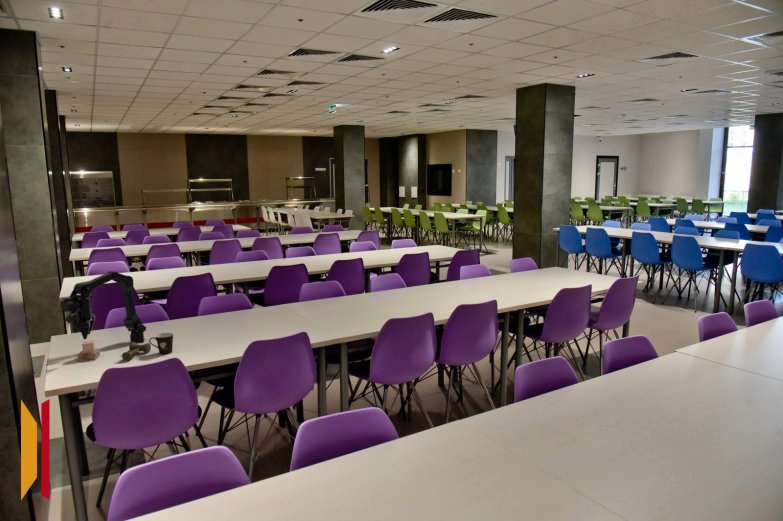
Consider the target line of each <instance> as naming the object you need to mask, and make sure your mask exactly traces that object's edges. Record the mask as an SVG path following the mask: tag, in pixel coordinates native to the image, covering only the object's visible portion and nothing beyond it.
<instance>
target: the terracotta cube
mask: <svg viewBox="0 0 783 521" xmlns="http://www.w3.org/2000/svg"><path fill="white" fill-rule="evenodd" d="M81 347H82V350H83V353H92V352H94V351H95V349H96V343H95V340H94V339H93V340H84V341H82V343H81Z"/></svg>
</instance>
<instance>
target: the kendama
mask: <svg viewBox="0 0 783 521" xmlns="http://www.w3.org/2000/svg"><path fill="white" fill-rule="evenodd" d="M151 349H152V347H151V344H150V342H147V343H144V344H139V343H135V342H132V343H131V342H130V344H129V347H128V350H127V351H125V352H123V353H122V354H121V358H122V360H123V361H124V362H130V361H131V360H132V359H133V358H135V357H136V354H137V353H138V352H143V353H144V354H150V352H151Z"/></svg>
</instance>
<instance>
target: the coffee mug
mask: <svg viewBox="0 0 783 521" xmlns="http://www.w3.org/2000/svg"><path fill="white" fill-rule="evenodd" d="M152 339H155V341H156V345H155V344H153V342H152V341H151V340H152ZM173 342H174V333H173V332H160V333H157V334H156V335H155V337H154V336H151V337H150V338H149V340H148V343H150V345H152V347H155V348H156V349H158V353H159V355H161V356H164V355H170V354H173V346H174V345H173Z"/></svg>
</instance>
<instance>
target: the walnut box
mask: <svg viewBox="0 0 783 521" xmlns="http://www.w3.org/2000/svg"><path fill="white" fill-rule="evenodd" d="M100 356H101V350H100V348H95V351H94V352H92V353H83V349H82V350H81V351H80V352H78V354H77V361H79V362H88V361H89V360H92V361H97V359H98V358H99V357H100Z"/></svg>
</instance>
